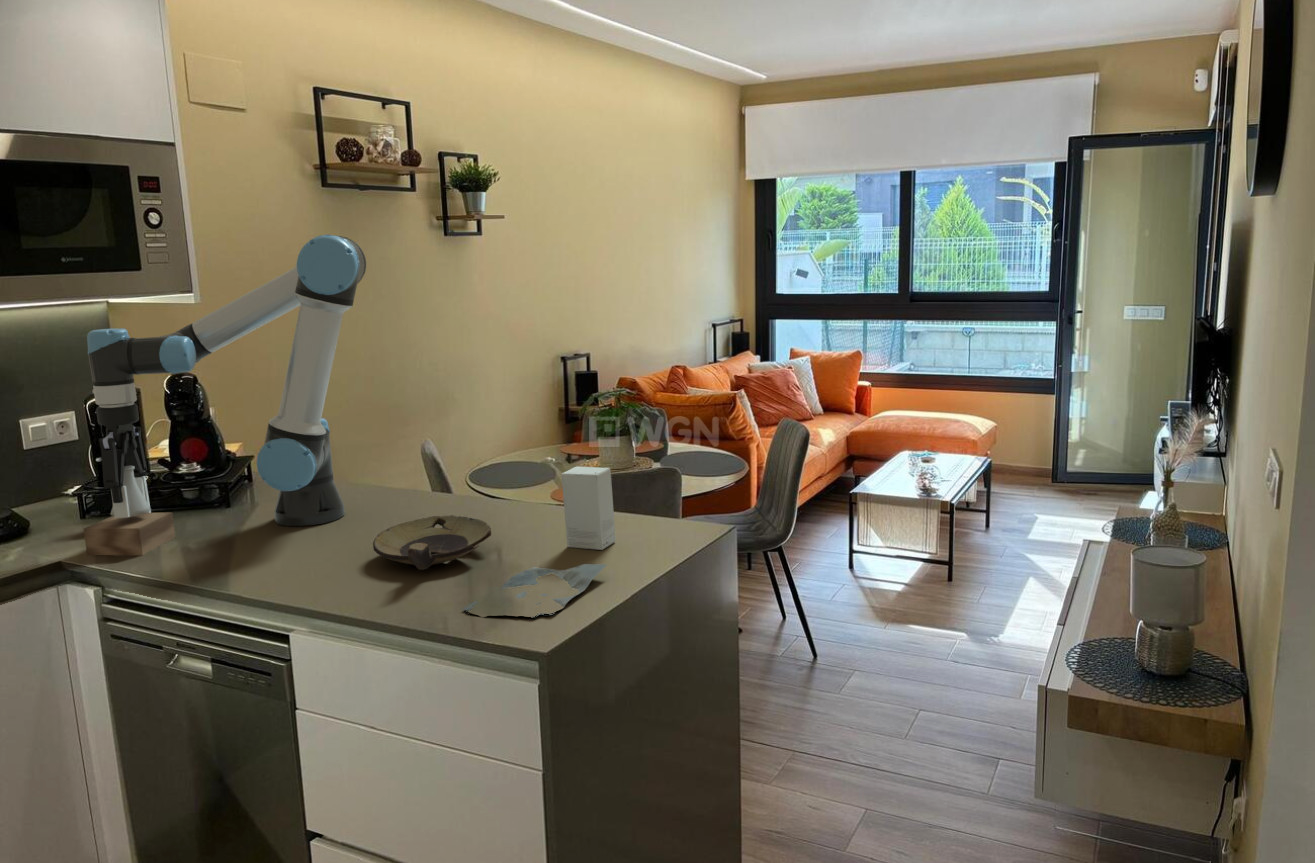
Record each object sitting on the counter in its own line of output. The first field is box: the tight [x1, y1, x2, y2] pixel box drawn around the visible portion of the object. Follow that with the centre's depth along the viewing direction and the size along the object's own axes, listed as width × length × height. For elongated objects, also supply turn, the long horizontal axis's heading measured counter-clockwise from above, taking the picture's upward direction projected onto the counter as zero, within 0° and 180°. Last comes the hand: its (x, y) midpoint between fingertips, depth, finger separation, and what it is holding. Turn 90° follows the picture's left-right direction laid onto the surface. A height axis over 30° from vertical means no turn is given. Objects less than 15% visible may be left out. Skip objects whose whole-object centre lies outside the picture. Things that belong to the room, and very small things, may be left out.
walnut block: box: [83, 511, 177, 556], centre depth 208 cm, size 12×12×6 cm
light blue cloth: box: [462, 563, 608, 618], centre depth 172 cm, size 24×16×2 cm, turn 157°
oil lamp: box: [372, 514, 492, 570], centre depth 191 cm, size 22×30×8 cm
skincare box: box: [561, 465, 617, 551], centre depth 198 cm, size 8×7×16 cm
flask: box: [109, 465, 152, 517], centre depth 206 cm, size 7×7×10 cm
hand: (130, 512), depth 207 cm, fingers closed on flask, 7 cm apart
